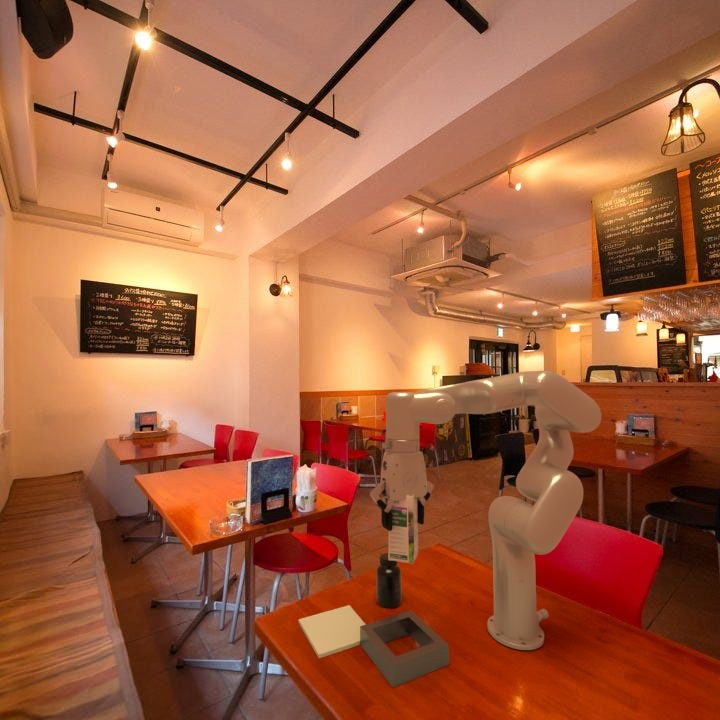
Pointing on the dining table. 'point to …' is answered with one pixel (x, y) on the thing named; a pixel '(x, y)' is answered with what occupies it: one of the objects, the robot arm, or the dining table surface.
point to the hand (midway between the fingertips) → (403, 525)
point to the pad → (332, 630)
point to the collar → (409, 663)
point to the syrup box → (404, 531)
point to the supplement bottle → (388, 582)
